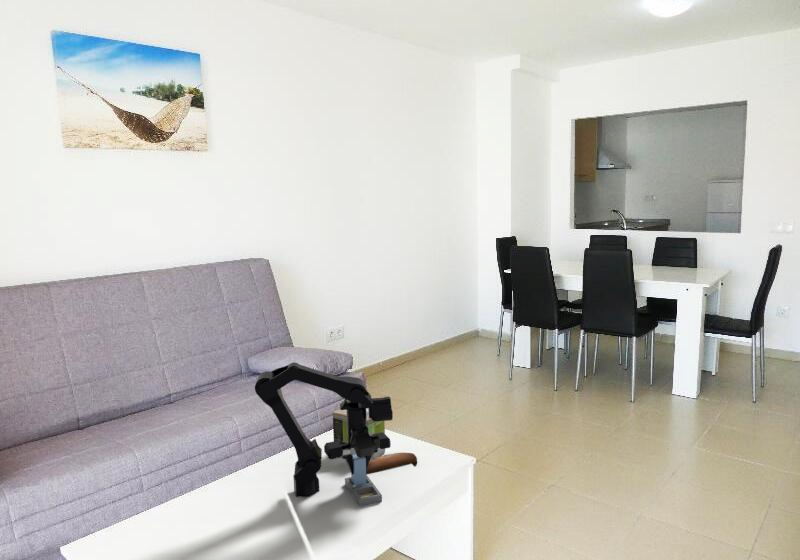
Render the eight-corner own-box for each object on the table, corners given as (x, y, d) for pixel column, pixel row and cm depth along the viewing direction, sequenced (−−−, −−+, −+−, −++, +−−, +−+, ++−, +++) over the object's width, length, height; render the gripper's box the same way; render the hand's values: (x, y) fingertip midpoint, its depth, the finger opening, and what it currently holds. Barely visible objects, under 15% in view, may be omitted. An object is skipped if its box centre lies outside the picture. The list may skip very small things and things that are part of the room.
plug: (355, 486, 168) (354, 460, 167) (351, 480, 171) (350, 455, 170) (366, 483, 169) (365, 458, 168) (362, 478, 173) (361, 453, 171)
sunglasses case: (405, 453, 194) (410, 441, 190) (414, 471, 189) (419, 459, 185) (355, 466, 186) (359, 453, 182) (363, 485, 181) (367, 472, 177)
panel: (357, 511, 160) (357, 501, 159) (342, 487, 172) (342, 478, 172) (384, 504, 163) (384, 494, 162) (368, 482, 175) (367, 473, 175)
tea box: (386, 452, 196) (385, 410, 193) (368, 464, 187) (367, 420, 185) (351, 442, 204) (350, 402, 202) (333, 453, 196) (331, 411, 194)
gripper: (333, 438, 157) (335, 492, 159) (397, 426, 164) (398, 478, 166) (322, 423, 167) (324, 474, 169) (383, 413, 174) (384, 462, 176)
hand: (358, 472), depth 170 cm, fingers closed on plug, 3 cm apart
